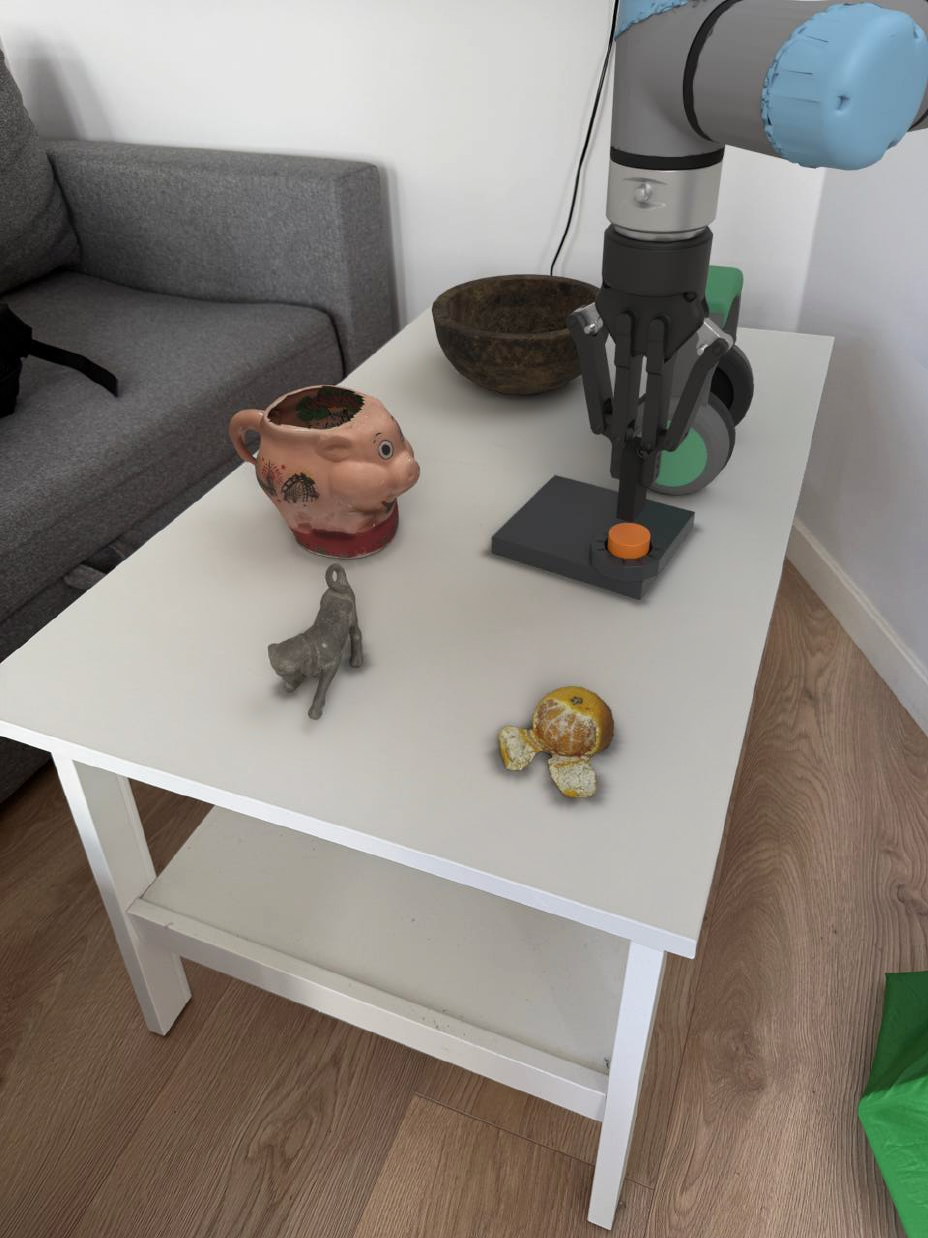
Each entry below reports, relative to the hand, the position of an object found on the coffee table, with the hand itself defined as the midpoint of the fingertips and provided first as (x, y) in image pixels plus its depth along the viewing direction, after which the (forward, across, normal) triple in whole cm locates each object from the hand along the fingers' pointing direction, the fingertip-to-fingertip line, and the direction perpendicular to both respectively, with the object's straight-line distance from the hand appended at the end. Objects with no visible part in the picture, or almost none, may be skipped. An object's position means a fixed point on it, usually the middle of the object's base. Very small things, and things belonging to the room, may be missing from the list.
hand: (630, 512), depth 78 cm
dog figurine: (+7, -16, -24) cm, 30 cm away
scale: (+7, -5, +4) cm, 9 cm away
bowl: (+7, -28, +32) cm, 43 cm away
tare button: (+4, 0, 0) cm, 4 cm away
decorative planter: (+7, -28, -7) cm, 30 cm away
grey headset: (+7, -3, +23) cm, 24 cm away
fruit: (+7, +4, -22) cm, 24 cm away
